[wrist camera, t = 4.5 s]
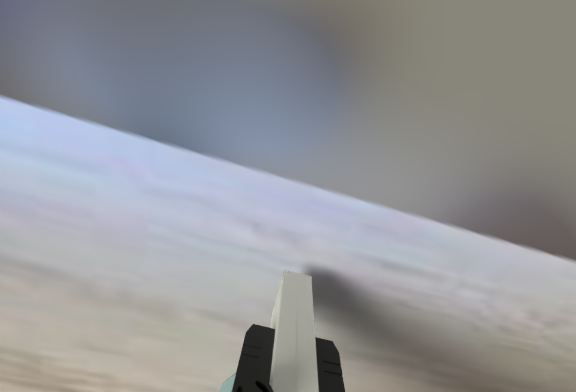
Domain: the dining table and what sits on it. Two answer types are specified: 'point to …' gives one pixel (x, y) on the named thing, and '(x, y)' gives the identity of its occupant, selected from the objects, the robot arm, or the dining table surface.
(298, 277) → the robot arm
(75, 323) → the dining table surface
